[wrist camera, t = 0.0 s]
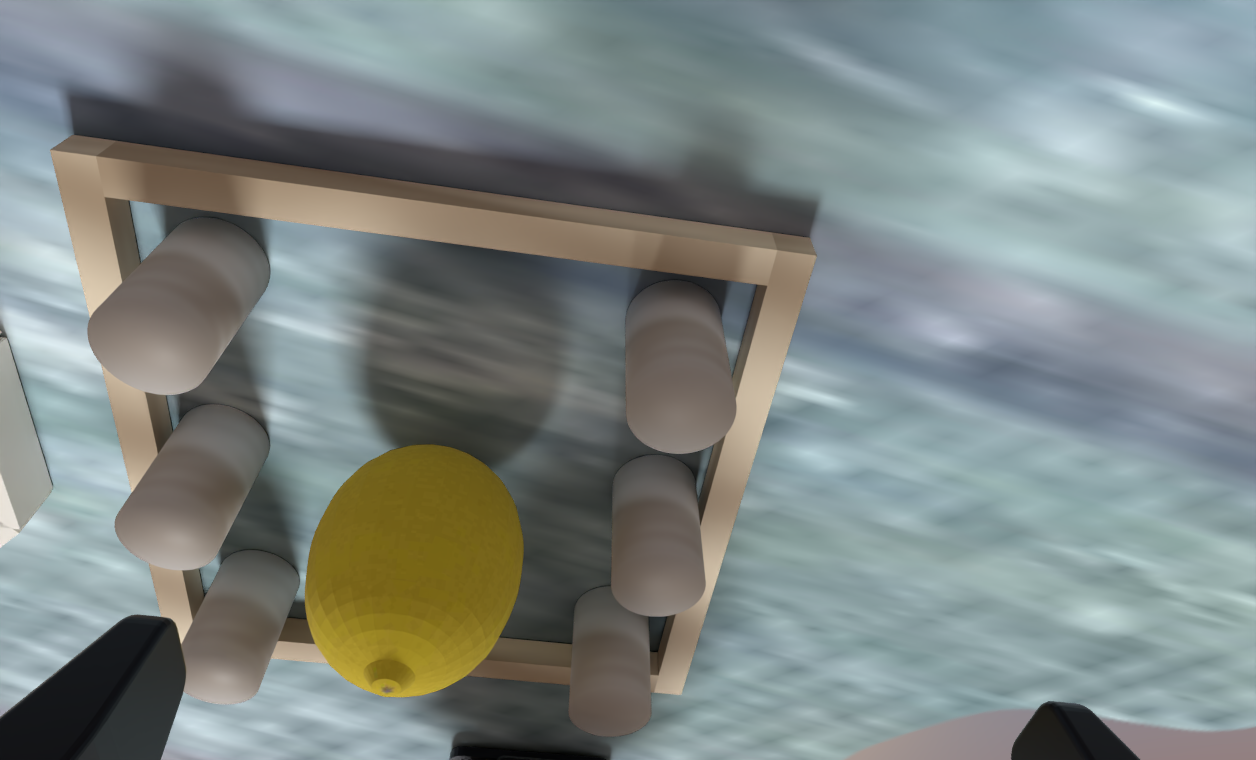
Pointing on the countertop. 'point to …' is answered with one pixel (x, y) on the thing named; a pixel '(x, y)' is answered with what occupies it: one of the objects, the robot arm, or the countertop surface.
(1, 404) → the dish
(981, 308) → the countertop surface
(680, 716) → the countertop surface
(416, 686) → the lemon
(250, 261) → the spacer field
